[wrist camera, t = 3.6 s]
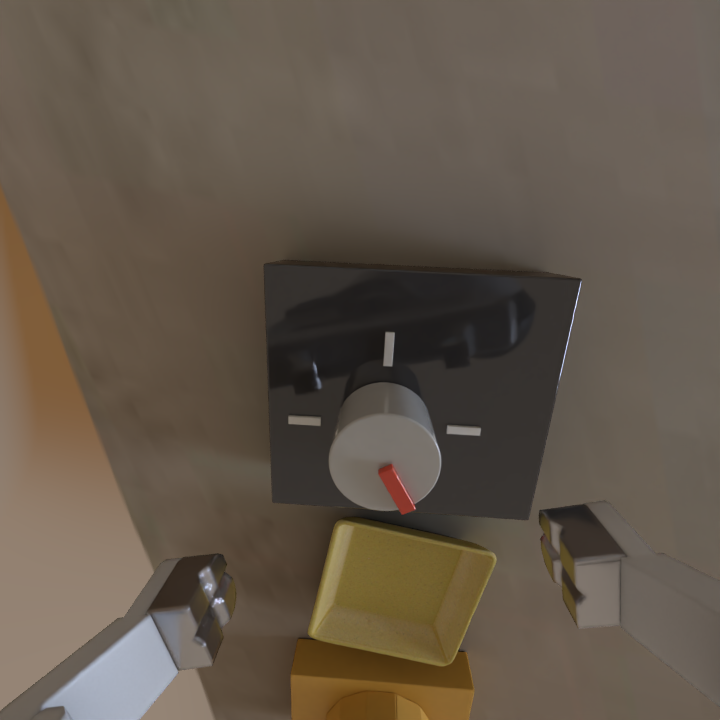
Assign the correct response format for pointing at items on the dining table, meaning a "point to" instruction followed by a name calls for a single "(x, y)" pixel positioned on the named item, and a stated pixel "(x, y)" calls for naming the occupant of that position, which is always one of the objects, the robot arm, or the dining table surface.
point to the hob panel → (418, 372)
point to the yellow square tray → (398, 590)
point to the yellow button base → (376, 685)
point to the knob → (384, 448)
